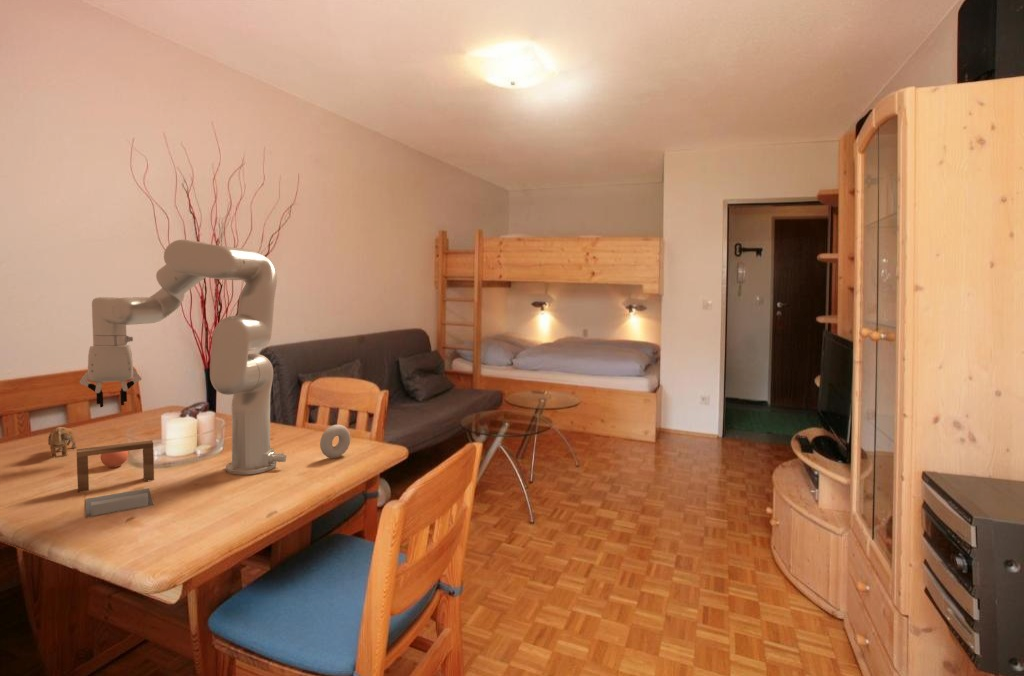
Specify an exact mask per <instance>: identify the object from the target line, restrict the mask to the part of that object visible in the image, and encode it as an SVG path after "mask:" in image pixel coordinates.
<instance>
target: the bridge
mask: <svg viewBox="0 0 1024 676" xmlns="http://www.w3.org/2000/svg"><path fill="white" fill-rule="evenodd" d="M136 450H142V465H143V466H142V467H143V470H142V472H143V481H144V482H149V481H148V480H151V481H154V480H155V469H154V468H155V467H154V466H155V464H154V463H155V461H154V460H155V459H154V441H153V439H149V440H142V441H134V442H125V443H117V444H109V445H102V446H101V445H100V446H92V447H84V448H76V474H77V492H78V493H80V492H88V491H90V490H89V489H90V483H89V481H90V480H89V479H90V478H89V457H90V456H98V455H101V454H106V453H114V452H122V451H128V452H129V451H136Z"/></svg>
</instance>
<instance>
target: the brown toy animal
mask: <svg viewBox="0 0 1024 676" xmlns="http://www.w3.org/2000/svg"><path fill="white" fill-rule="evenodd" d="M48 435H49V436H48V439H47V441H48V445H49V447H50V452H51V455H50V456H49V458H50V459H54V457H55V458H56V457H57V454H56V453H57V452H58V453H59V451H60V452H61V455H62V457H68V456H69V453H67V449H68V446H70V444H72V445H71V447H70V448H71V449H77V445H76V442H77V441H76V440H75V434H74V431H73V429H72V428H67V427H64V426H58V427H55V428H54V429H52V430H51V431H50V433H49V434H48ZM67 455H68V456H67Z"/></svg>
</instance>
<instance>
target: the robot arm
mask: <svg viewBox="0 0 1024 676" xmlns="http://www.w3.org/2000/svg"><path fill="white" fill-rule="evenodd" d="M163 260H164V265H163V266H162V267H161V268H159V269H158V270H157V271H156V275H155V277H156V281H157V283H158V284H159V286H160V287H161V288H160V289H159V290H158V291H156V292H155V293H154V294H152V295H151V296H149V297H147V296H143V297H142V296H141V297H139V296H138V297H136V296H135V297H134V296H133V297H109V296H105V297H104V296H102V297H101V296H99V297H94V298H93V299H92V301H91V316H92V317H91V320H92V321H91V322H92V323H91V324H92V345H91V346H89V349H88V356H87V371H86V372H85V373H84V375H83V376H82V377H81V379H80V380H79V384H80V385H82V386H84V387H87V388H88V389H89V390H91V391H93V392H94V393H95V394H96V395H95V396H96V404H97V405H99V407H100V408H103V407H104V392H103V389H102V387H103V383H108V382H109V383H110V382H112V383H113V382H120V384H121V388H120V390H119V391H120V392H119V393H120V395H119V396H120V398H119V399H120V405H121V406H125V402H128V396H127V394H128V392H127V391H129V389H130V388H132V387H133V386H134V385H135V384H137V383H138V382H140V381H141V380H142V377H141V375H140V374H139V373H138V372H137V371H136V370H135V369H134V363H133V362H134V361H133V356H132V354H133V353H132V350H131V346H130V344H127V343H130V342H133V341H134V337H133V336H129V335H128V334H127V326H129V325H130V326H133V325H145V324H155V323H158V322H161V321H163V320H164V319H166V318H167V317H169V316H171V315H172V314H173V313H174V312H175V311H177V310H178V308H180V306H181V304H182V303H183V301H184V298H185V293H187V292H188V291H190V290H191V289H192V288H193V287H195V286H196V285H197V284H199V283H200V282H201V281H203V280H204V279H205V278H209V279H214V280H223V281H226V280H227V281H242V282H245V284H244V287H243V288H242V290H241V292H240V294H239V299H238V310H237V315H229V316H227V317H224V318H223V319H221V320H220V321H219V322H218V323H217V324H216V326H215V328H214V330H213V334H212V340H211V351H210V352H211V353H210V361H209V362H210V363H209V364H210V365H209V380H210V382H211V386H212V387H213V388H214V390H215V391H217V392H218V393H219V394H222V395H227V396H228V395H229V396H231V395H233V396H232V400H231V458H232V459H231V461H230V462H227V464H225V471H226V472H227V473H228V474H232V475H254V474H260V473H264V472H267V471H270V470H272V469H275V467H276V466H277V463H286V461H287V454H285V453H284V452H281V453H280V452H279V453H276V452H274V451H275V450H274V447H273V448H271V393H272V386H273V380H274V366H273V364H272V362H271V360H269V358H268V357H266V356H265V355H263V354H259V353H249V351H254V350H255V351H256V350H259V349H262V348H265V347H266V346H268V344H270V341H271V339H272V332H273V323H274V322H273V321H274V320H273V319H274V310H275V309H274V307H275V297H276V290H277V282H278V277H277V272H276V269H275V266H274V264H273V263H272V262H271V260H270V259H269V258H268V257H267V256H265V255H263V253H262V254H261V253H260V252H258V251H255V250H251V249H246V248H239V247H231V246H226V245H225V246H224V245H215V244H209V243H207V242H203V241H199V240H198V241H197V240H196V241H195V240H189V239H177V240H174V241H173V242H170V243H169V244H168V245H167V246H166V247H165V250H164V253H163ZM88 380H89V381H88ZM127 381H128V382H127ZM94 383H96V384H94Z"/></svg>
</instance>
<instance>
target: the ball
mask: <svg viewBox="0 0 1024 676" xmlns="http://www.w3.org/2000/svg"><path fill="white" fill-rule="evenodd" d="M128 458H129V451H122V452H114V453H106V454H100V461H101V463H102V464H103V465H104V466H106V467H109V468H117V467H119V466H122V465H123V464H125V462H127V460H128Z"/></svg>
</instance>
